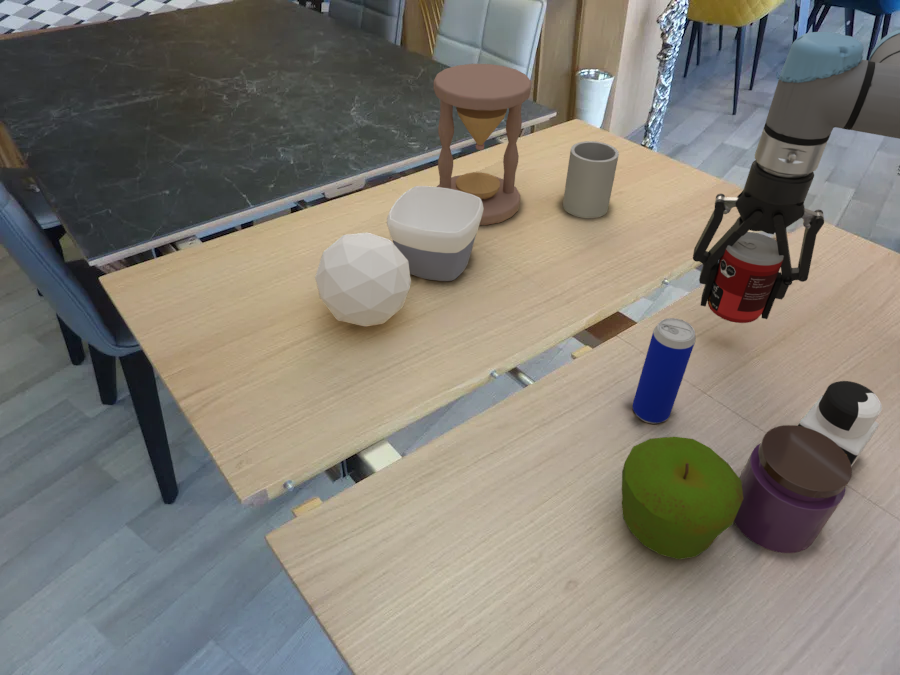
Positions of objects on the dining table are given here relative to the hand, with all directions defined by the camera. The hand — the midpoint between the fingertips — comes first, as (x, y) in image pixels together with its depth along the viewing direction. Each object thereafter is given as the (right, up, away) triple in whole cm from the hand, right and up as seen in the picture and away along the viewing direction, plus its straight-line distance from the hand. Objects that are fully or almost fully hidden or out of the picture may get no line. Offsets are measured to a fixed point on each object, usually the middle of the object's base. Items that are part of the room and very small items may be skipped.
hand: (733, 306), depth 99 cm
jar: (-4, -26, -19) cm, 33 cm away
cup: (-15, +22, +36) cm, 45 cm away
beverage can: (-14, -15, -7) cm, 22 cm away
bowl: (-45, +9, +20) cm, 50 cm away
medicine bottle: (+6, -21, -12) cm, 25 cm away
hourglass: (-37, +23, +37) cm, 57 cm away
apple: (-17, -27, -20) cm, 38 cm away
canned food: (0, 0, 0) cm, 0 cm away
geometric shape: (-56, -1, +9) cm, 57 cm away
